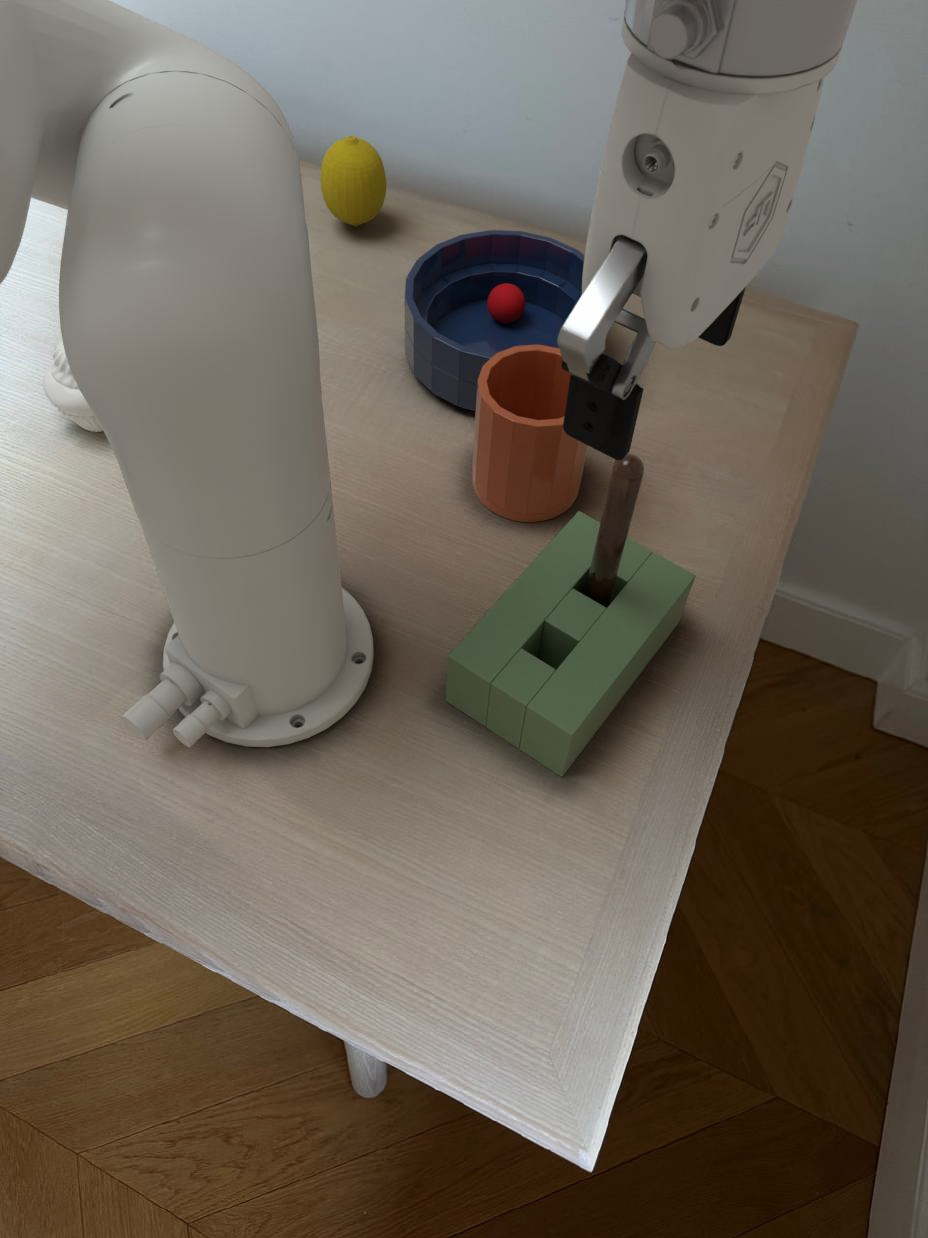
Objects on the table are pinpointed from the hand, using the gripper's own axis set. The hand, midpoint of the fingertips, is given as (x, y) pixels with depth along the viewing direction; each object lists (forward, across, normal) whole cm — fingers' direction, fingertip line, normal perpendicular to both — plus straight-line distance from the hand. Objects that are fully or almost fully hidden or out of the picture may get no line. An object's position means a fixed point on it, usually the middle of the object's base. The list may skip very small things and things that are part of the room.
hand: (648, 385), depth 48 cm
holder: (+20, -3, 0) cm, 20 cm away
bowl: (+20, +18, +19) cm, 33 cm away
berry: (+18, +21, +21) cm, 35 cm away
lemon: (+20, +24, +39) cm, 50 cm away
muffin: (+20, -6, +38) cm, 44 cm away
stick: (+20, 0, 0) cm, 20 cm away
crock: (+20, +8, +10) cm, 24 cm away
